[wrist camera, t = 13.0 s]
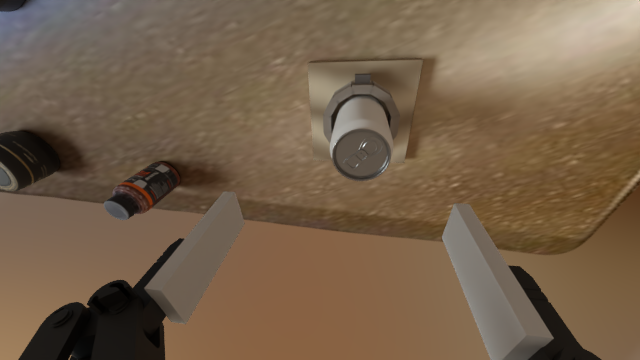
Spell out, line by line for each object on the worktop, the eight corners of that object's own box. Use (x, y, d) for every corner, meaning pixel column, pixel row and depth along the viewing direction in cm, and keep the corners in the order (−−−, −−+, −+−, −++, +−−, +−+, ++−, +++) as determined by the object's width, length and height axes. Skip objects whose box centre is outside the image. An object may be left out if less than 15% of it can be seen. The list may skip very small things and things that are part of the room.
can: (394, 116, 31) (410, 157, 21) (359, 147, 34) (359, 195, 24) (361, 82, 29) (362, 109, 19) (328, 118, 32) (314, 156, 23)
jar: (1, 135, 46) (-56, 151, 40) (29, 121, 43) (-28, 137, 37) (46, 175, 51) (1, 196, 44) (73, 166, 48) (30, 187, 41)
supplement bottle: (163, 155, 43) (108, 190, 33) (187, 179, 45) (142, 218, 36) (146, 168, 45) (90, 204, 36) (170, 190, 47) (123, 229, 38)
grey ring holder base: (309, 61, 30) (302, 65, 26) (420, 58, 28) (429, 62, 24) (315, 155, 38) (310, 169, 34) (402, 158, 36) (407, 173, 32)
